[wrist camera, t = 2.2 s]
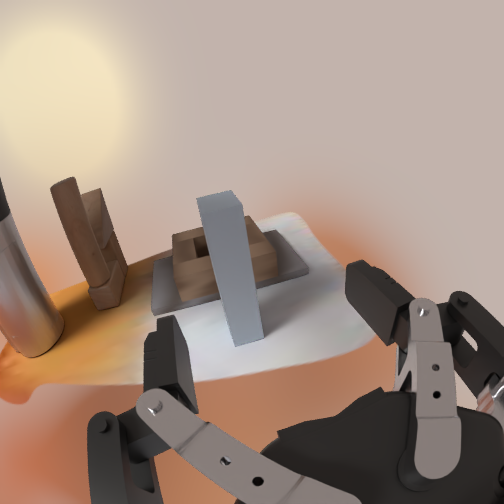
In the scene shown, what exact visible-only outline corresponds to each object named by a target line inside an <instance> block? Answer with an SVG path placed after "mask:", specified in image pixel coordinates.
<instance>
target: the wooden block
mask: <svg viewBox="0 0 504 504" xmlns="http://www.w3.org/2000/svg"><path fill="white" fill-rule="evenodd" d="M50 190H51V194H52V197H53V200H54V203H55V206H56V209H57V212H58V214H59V217H60V220H61V223H62V225H63V228H64V230H65V233H66V235H67V238H68V240H69V243H70V245H71V248H72V250H73V252H74V254H75V257H76V259H77V261H78V263H79V265H80V268H81V270H82V272H83V274H84V276H85V278H86V280H87V282H88V284H89V285H90V287H89V289H88V293H89V295H90V297H91V298H92V300H93V302H94V304H95V306H96V308H97V309H98V310H103V309H108V308H112V307H116V306H119V303H120V298H121V293H122V289H123V284H124V280H125V277H126V272H127V268H128V266H127V263H126V261H125V258H124V256H123V253H122V250H121V248H120V245H119V243H118V240H117V237H116V234H115V232H114V231H113V229H114V228H113V225H112V222H111V219H110V216H109V213H108V210H107V207H106V204H105V201H104V198H103V194H102V191H101V188H99V189H96V190H93V191H90V192H87V193H84V194H82V195H80V192H79V189H78V186H77V183H76V179H75V178H74V177H70V178H67V179H65V180H63V181H60V182H58V183H56V184H54V185H53V186H52V187H51V188H50Z"/></svg>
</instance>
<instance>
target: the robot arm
mask: <svg viewBox="0 0 504 504" xmlns="http://www.w3.org/2000/svg"><path fill="white" fill-rule="evenodd" d="M345 294H346V298H347V300H348V301H349V303H350V304H351V305H352V306H353V307H354V309H355V310H356V311H357V312H358V313H359V314H360V315H361V317H362V318H363V319H364V320H365V321H366V322H367V323H368V325H369V326H370V327H371V328H372V329H373V330H374V332H375V333H376V334H377V335H378V336H379V338H380V339H381V340H382V341H383V342H384V343H385V344H386V346H388V345H391V344H392V343H394V342H396V343H397V350H396V373H395V384H394V388H393V391H391V392H384V391H383V389H382V388H381V387H379V388H377V389H376V390H373V391H372V392H370V393H368V394H366V395H364V396H362V397H360V398H358V399H357V400H355V401H354V402H353V403H352V404H351V405H349V406H348V407H347V408H345V409H344V410H343V411H342V412H340V413H339V414H338V415H336V416H334V417H328V418H323V419H317V420H310V421H304V422H302V423H299V424H296V425H294V426H291V427H288V428H285V429H282V430H279V431H277V433H278V438H277V439H275V440H274V441H272V442H271V443H270V444H268V445H267V446H266V447H265V448H264V449H263V450H262V451H261V452H260V453H258V452H256V451H254V450H252V449H251V448H249V447H247V446H246V445H244V444H243V443H241V442H240V441H238V440H236V439H235V438H233V437H231V436H230V435H229V434H227V433H226V432H224V431H223V430H221V429H220V428H218V427H217V426H215V425H213V424H212V423H210V422H205V421H203V420H202V419H200V418H199V417H197V416H196V415H195V414H198V413H199V412H198V406H197V400H196V395H195V390H194V383H193V377H192V370H191V364H190V357H189V350H188V346H187V343H186V340H185V338H184V336H183V333H182V331H181V329H180V327H179V324H178V322H177V320H176V318H175V316H174V315H170V316H166V317H162V318H158V319H157V331H155V332H151V333H149V334H148V336H147V338H146V340H145V342H144V392H143V394H142V395H141V396H140V397H139V398H138V400H137V403H136V406H135V407H134V408H132V409H131V410H129V411H126V412H124V413H122V414H120V415H118V416H115V415H114V414H112V413H110V412H105V411H104V412H99V413H97V414H95V415H94V416H93V417H92V418H91V419H90V421H89V423H88V428H87V429H88V430H87V451H88V474H89V485H90V496H91V504H164V503H163V499H162V495H161V491H160V486H159V482H158V477H157V472H156V467H155V462H154V456H156V455H158V454H160V453H162V452H164V451H166V450H168V449H171V448H173V449H174V450H175V451H176V452H177V453H178V454H179V455H180V456H181V457H183V458H184V459H185V460H186V461H187V462H189V463H190V464H191V465H192V466H194V467H195V468H196V469H197V470H198V471H200V472H201V473H202V474H204V475H205V476H206V477H208V478H209V479H210V480H212V481H213V482H215V483H216V484H217V485H219V486H220V487H221V488H223V489H224V490H226V491H227V492H229V493H231V494H232V495H233V496H235V497H236V498H237V500H236V501H235V503H234V504H504V327H503V326H502V325H501V324H500V323H499V322H498V321H497V320H496V319H495V318H494V317H493V316H492V315H491V314H490V313H489V312H488V311H487V310H486V309H485V308H484V307H483V306H482V305H481V304H480V303H478V302H477V301H476V300H475V299H474V298H473V297H472V296H471V295H469V294H468V293H466V292H462V291H456V292H453V293H452V294H451V296H450V298H449V301H448V302H446V303H441V304H435V303H434V302H433V301H431V300H429V299H426V298H417V299H416V298H414V297H413V296H412V295H411V294H410V293H409V292H407V290H405V289H404V288H403V287H402V286H401V285H400V284H399V283H396V281H395V280H394V279H393V278H390V276H389V275H388V274H387V273H386V272H385V271H383V270H381V269H379V268H376V267H371V266H370V265H369V264H368V263H366V262H365V261H364V260H359V261H356V262H353V263H350V264H348V265H347V267H346V282H345ZM63 328H64V320H63V318H62V316H61V315H60V313H59V311H58V310H57V308H56V306H55V305H54V303H53V301H52V300H51V298H50V296H49V294H48V292H47V291H46V289H45V287H44V285H43V283H42V281H41V280H40V278H39V276H38V274H37V272H36V270H35V268H34V266H33V264H32V262H31V260H30V257H29V255H28V253H27V251H26V249H25V247H24V244H23V242H22V240H21V237H20V235H19V233H18V230H17V228H16V225H15V222H14V220H13V217H12V214H11V212H10V209H9V206H8V203H7V200H6V196H5V193H4V189H3V186H2V182H1V179H0V330H1V332H2V333H3V335H4V336H5V337H6V339H7V340H8V342H9V343H10V344H11V346H12V347H13V348H14V349H15V351H16V352H21V353H22V354H23V355H24V356H26V357H36V356H38V355H41V354H42V353H44V352H46V351H47V350H48V349H50V348H51V347H52V346H53V345H54V344H55V343H56V341H57V340H58V339H59V337H60V335H61V333H62V331H63ZM464 330H466V331H467V332H468V333H469V335H471V337H472V338H473V339H474V340H475V341H476V343H477V346H478V349H477V352H476V351H475V350H474V348H473V347H472V346H471V345H470V344H469V343H468V342H467V341H466V339H465V338H464V337H463V336H462V334H463V332H464ZM454 370H455V371H456V372H457V374H458V375H459V376H460V377H461V379H462V380H463V381H464V383H465V384H466V385H467V387H468V388H469V389H470V390H471V392H472V393H473V394H474V396H475V397H476V399H477V404H478V407H477V408H476V410H471V409H467V408H463V407H459V406H457V404H456V386H455V376H454Z"/></svg>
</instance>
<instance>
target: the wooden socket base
mask: <svg viewBox="0 0 504 504" xmlns="http://www.w3.org/2000/svg"><path fill="white" fill-rule="evenodd" d="M244 219H245V225H246V231H247V237H248V243H249V249H250V256H251V262H252V268H253V274H254V280H255V286H256V289H258V288H262V287H265V286H269V285H272V284H275V283H279V282H282V281H286V280H289V279H293V278H296V277H299V276H303V275H306V274H308V267H307V265H306V264H305V263H304V262H303V261H302V260H301V258H300V257H299V256H298V255H297V254H296V253H295V251H294V250H293V249H292V248H291V247H290V246H289V244H288V243H287V242H286V241H285V240H284V239H283V237H282V236H281V235H280V234H279V233H278V232H277V231H276V230H273V231H269V232H265V233H262V232H261V231H260V229H259V228H258V227H257V225H256V224H255V223H254V221H253V220H252V219H251V217H250V216H245V217H244ZM172 245H173V256H171V257H167V258H163V259H160V260H156V261H154V269H153V283H152V302H151V310H152V313H153V315H154V316H155V315H159V314H163V313H167V312H171V311H175V310H179V309H183V308H187V307H191V306H195V305H199V304H203V303H207V302H211V301H214V300H218V299H221V297H220V293H219V290H218V286H217V282H216V278H215V274H214V270H213V266H212V262H211V258H210V254H209V250H208V246H207V242H206V238H205V234H204V230H203V227H200V228H196V229H192V230H189V231H185V232H181V233H177V234H173V235H172Z"/></svg>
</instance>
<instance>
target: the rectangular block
mask: <svg viewBox="0 0 504 504" xmlns="http://www.w3.org/2000/svg"><path fill="white" fill-rule="evenodd" d="M197 203H198V208H199V212H200V217H201V221H202V225H203V230H204V234H205V238H206V242H207V246H208V250H209V254H210V258H211V262H212V266H213V270H214V274H215V278H216V282H217V286H218V290H219V293H220V297H221V301H222V305H223V308H224V312H225V316H226V319H227V323H228V326H229V329H230V332H231V336H232V339H233V342H234V345H235V347H236V346H239V345H243V344H246V343H250V342H253V341H257V340H260V339H263V338H264V335H263V329H262V323H261V317H260V311H259V305H258V298H257V292H256V286H255V280H254V274H253V268H252V262H251V256H250V249H249V243H248V237H247V231H246V225H245V219H244V213H243V206H242V204H241V202H240V201H239V200H238V198H237V197H236V196H235V195H234V193H233V192H232V191H231V190H229V191H225V192H221V193H217V194H212V195H208V196H204V197H200V198H197Z"/></svg>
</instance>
